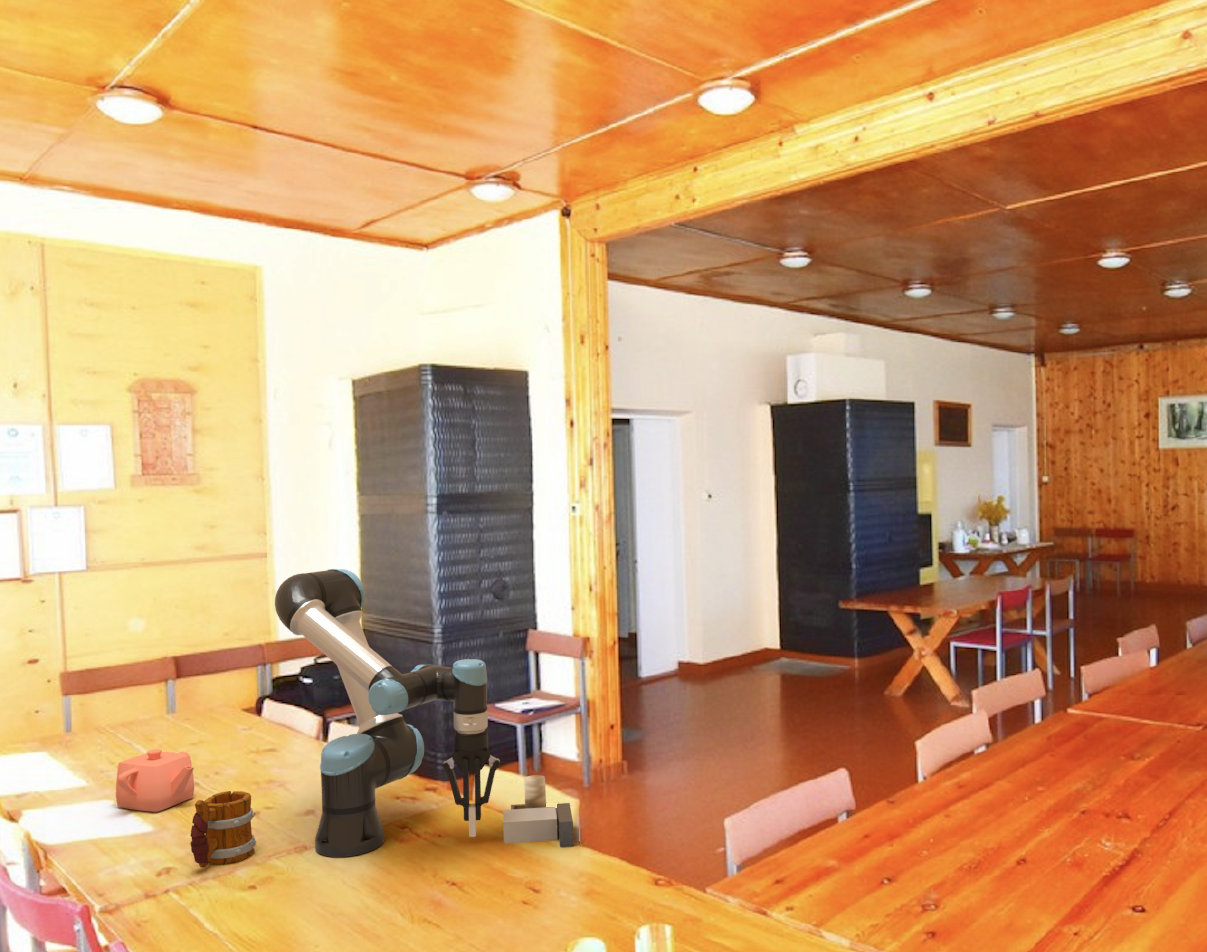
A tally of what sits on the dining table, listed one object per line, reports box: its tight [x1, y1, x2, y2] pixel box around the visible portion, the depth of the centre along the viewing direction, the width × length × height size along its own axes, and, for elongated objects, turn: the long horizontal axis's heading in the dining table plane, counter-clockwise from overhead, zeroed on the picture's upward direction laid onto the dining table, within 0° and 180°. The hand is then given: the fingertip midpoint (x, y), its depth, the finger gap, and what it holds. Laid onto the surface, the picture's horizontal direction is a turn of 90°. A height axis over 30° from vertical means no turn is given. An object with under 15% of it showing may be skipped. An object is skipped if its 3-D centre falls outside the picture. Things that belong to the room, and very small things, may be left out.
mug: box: [190, 790, 257, 868], centre depth 206 cm, size 11×16×15 cm, turn 161°
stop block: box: [557, 802, 575, 848], centre depth 213 cm, size 3×12×6 cm, turn 6°
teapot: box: [115, 748, 195, 813], centre depth 244 cm, size 20×22×14 cm
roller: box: [523, 774, 547, 809], centre depth 225 cm, size 5×5×9 cm
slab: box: [502, 807, 558, 844], centre depth 214 cm, size 12×8×5 cm, turn 95°
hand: (472, 834), depth 211 cm, fingers closed
